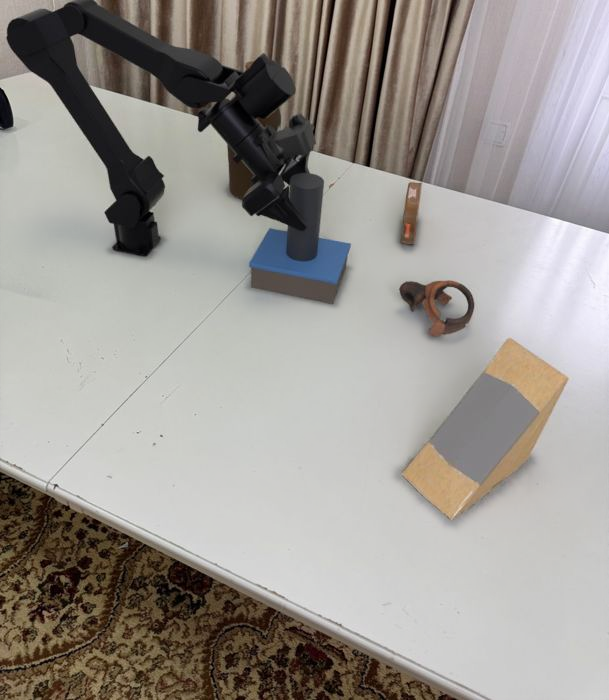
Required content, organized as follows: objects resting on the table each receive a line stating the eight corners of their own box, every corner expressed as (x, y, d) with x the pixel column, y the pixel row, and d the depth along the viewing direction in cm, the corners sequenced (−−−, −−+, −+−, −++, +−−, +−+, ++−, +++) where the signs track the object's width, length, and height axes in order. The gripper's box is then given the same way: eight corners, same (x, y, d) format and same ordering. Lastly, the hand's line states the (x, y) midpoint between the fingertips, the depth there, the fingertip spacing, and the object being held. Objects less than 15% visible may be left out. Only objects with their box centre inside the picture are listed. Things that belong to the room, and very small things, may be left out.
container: (248, 288, 103) (249, 262, 100) (268, 252, 112) (269, 227, 108) (334, 305, 101) (337, 280, 98) (347, 267, 110) (351, 243, 106)
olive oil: (230, 204, 124) (228, 73, 107) (223, 179, 131) (221, 54, 115) (282, 201, 126) (288, 73, 109) (273, 177, 134) (277, 54, 117)
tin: (412, 253, 115) (421, 212, 109) (395, 250, 115) (403, 209, 109) (418, 214, 126) (426, 175, 120) (402, 211, 126) (410, 173, 121)
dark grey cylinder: (297, 264, 100) (302, 191, 92) (280, 249, 104) (283, 176, 95) (323, 256, 103) (330, 183, 94) (305, 241, 106) (311, 170, 97)
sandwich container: (398, 473, 77) (421, 387, 67) (477, 419, 84) (508, 335, 74) (451, 522, 72) (485, 437, 62) (529, 460, 80) (570, 376, 70)
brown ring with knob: (463, 305, 104) (485, 285, 97) (449, 355, 101) (471, 338, 93) (397, 278, 104) (415, 256, 96) (381, 327, 100) (398, 308, 92)
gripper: (265, 127, 81) (338, 217, 87) (300, 82, 95) (362, 163, 101) (210, 173, 87) (282, 255, 93) (250, 125, 101) (311, 198, 107)
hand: (311, 215), depth 98 cm, fingers open, 9 cm apart
